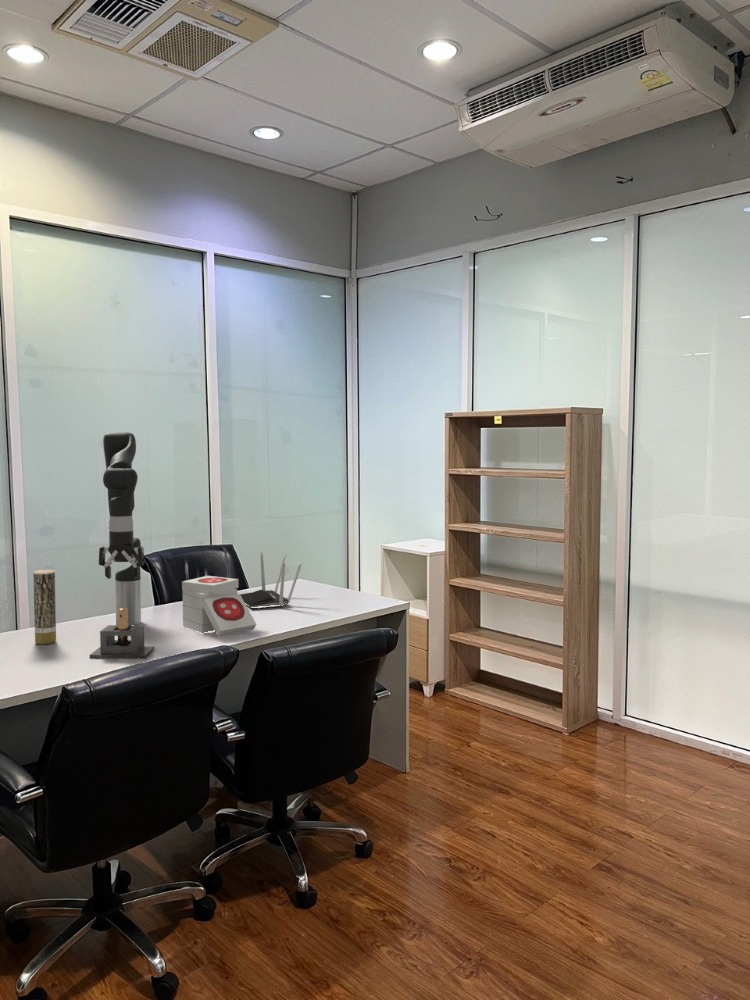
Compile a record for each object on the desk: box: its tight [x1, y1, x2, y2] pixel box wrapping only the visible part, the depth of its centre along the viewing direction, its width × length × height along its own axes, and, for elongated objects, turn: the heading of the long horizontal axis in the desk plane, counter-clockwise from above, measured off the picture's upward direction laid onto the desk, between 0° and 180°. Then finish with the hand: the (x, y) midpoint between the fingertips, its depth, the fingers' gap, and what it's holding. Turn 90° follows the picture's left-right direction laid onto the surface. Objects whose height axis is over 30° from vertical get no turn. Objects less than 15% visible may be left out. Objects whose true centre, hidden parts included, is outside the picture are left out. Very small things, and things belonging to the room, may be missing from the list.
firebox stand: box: [89, 624, 156, 660], centre depth 253 cm, size 11×18×8 cm, turn 90°
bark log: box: [32, 569, 57, 645], centre depth 265 cm, size 7×7×25 cm
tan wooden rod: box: [117, 608, 129, 645], centre depth 253 cm, size 3×3×14 cm
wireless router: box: [239, 552, 303, 608], centre depth 335 cm, size 34×23×20 cm
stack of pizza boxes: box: [181, 575, 257, 637], centre depth 286 cm, size 19×30×18 cm, turn 42°
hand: (121, 578), depth 251 cm, fingers open, 8 cm apart
